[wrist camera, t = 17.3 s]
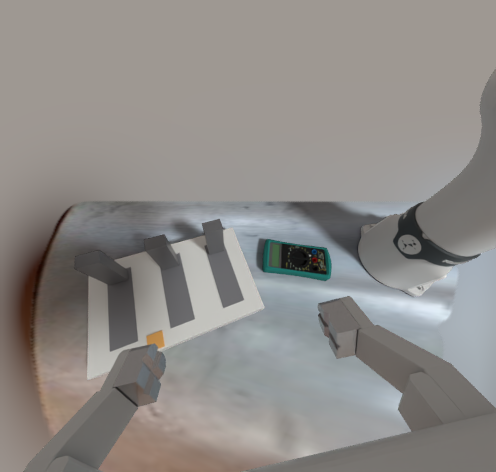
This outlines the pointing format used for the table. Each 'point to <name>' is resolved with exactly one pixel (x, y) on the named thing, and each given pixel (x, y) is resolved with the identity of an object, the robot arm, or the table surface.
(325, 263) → the digital multimeter
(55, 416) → the table surface
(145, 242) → the post
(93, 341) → the box
